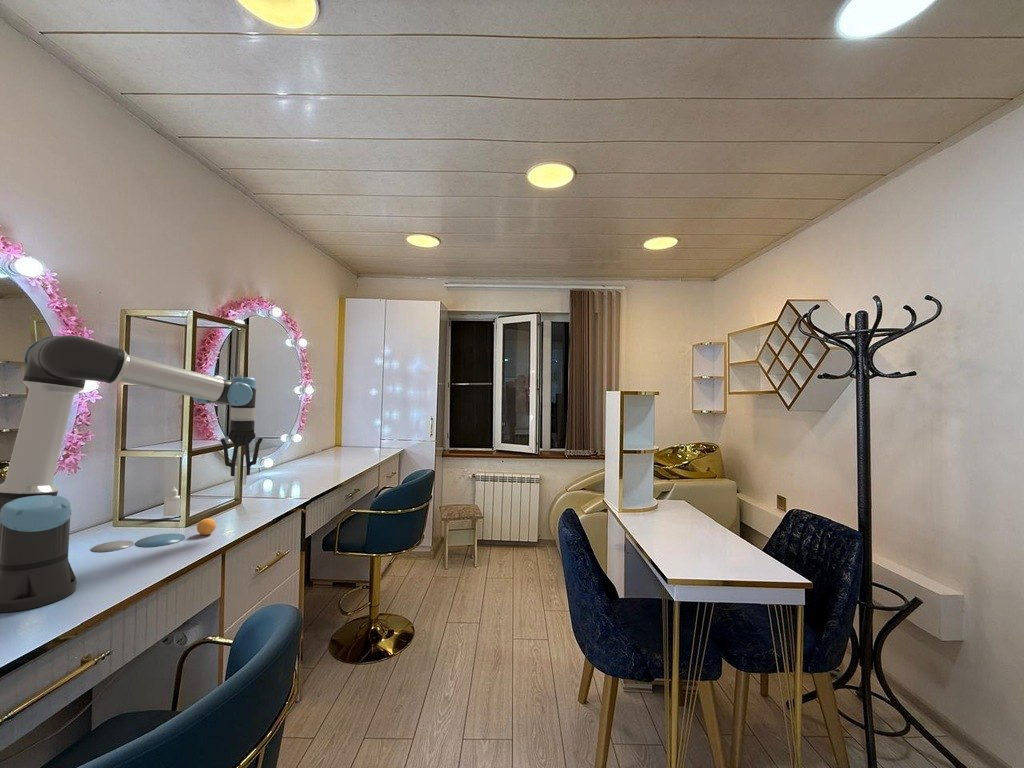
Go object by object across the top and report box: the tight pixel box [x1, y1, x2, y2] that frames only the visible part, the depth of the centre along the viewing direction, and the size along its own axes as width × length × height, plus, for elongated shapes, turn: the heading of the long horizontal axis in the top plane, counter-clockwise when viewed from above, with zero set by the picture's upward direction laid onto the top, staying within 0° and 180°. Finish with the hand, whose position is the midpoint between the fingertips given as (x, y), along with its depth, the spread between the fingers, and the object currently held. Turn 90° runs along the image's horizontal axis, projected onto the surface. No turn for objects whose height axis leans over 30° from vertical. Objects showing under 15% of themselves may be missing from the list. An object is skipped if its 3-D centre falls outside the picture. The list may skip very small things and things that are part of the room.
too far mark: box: [90, 540, 134, 553], centre depth 142 cm, size 10×10×1 cm
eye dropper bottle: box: [163, 486, 181, 517], centre depth 174 cm, size 4×6×12 cm
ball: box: [196, 518, 217, 536], centre depth 156 cm, size 6×6×6 cm
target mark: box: [135, 532, 186, 548], centre depth 149 cm, size 13×13×1 cm
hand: (239, 484), depth 161 cm, fingers open, 2 cm apart
